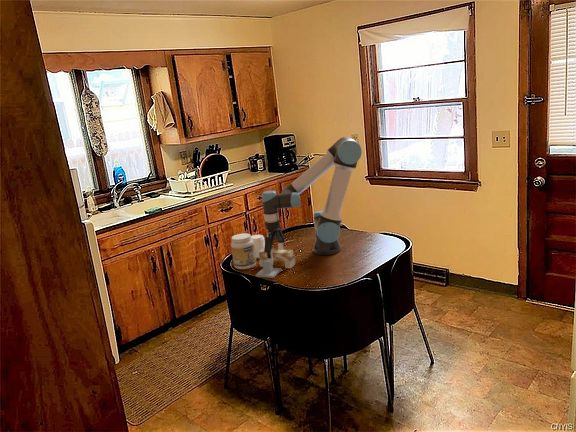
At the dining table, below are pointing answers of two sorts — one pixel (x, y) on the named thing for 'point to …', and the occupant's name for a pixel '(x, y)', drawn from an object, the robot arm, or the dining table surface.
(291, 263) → the rack
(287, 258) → the bar
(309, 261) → the dining table surface
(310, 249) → the dining table surface
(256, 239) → the white tapered cup
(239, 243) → the supplement tub
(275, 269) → the pale grey stand
